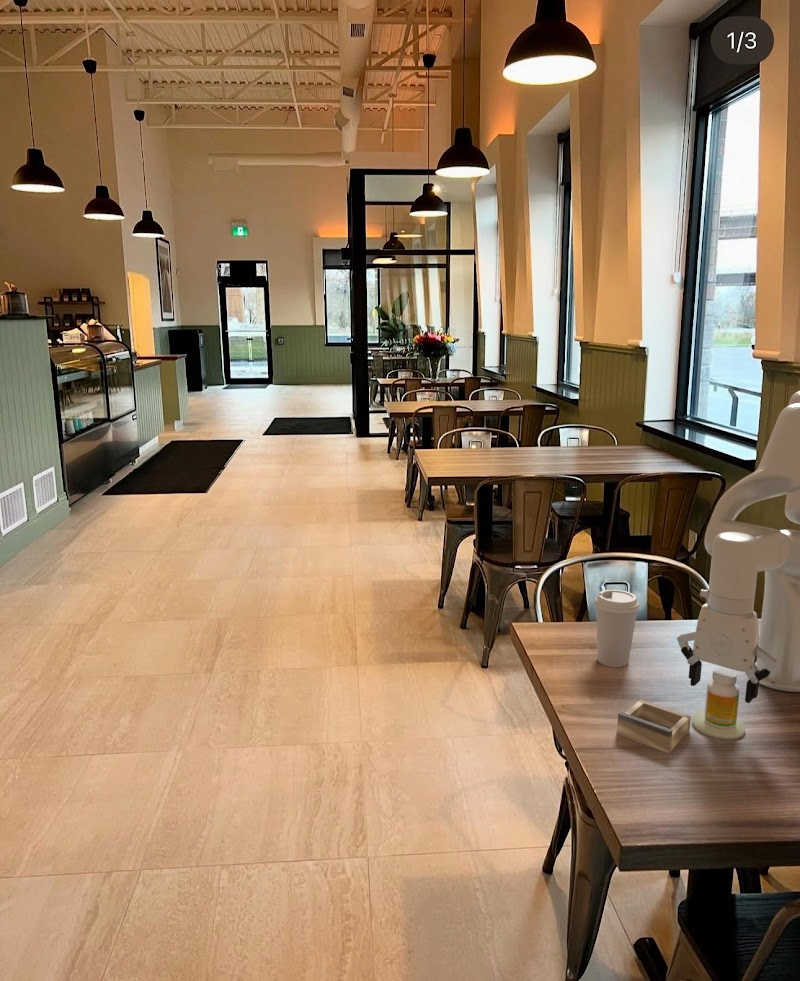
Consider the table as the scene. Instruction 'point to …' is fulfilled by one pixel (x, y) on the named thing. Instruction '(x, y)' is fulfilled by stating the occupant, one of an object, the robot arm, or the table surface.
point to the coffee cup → (615, 626)
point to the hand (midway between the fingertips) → (721, 691)
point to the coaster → (711, 731)
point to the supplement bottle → (722, 699)
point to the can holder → (653, 725)
